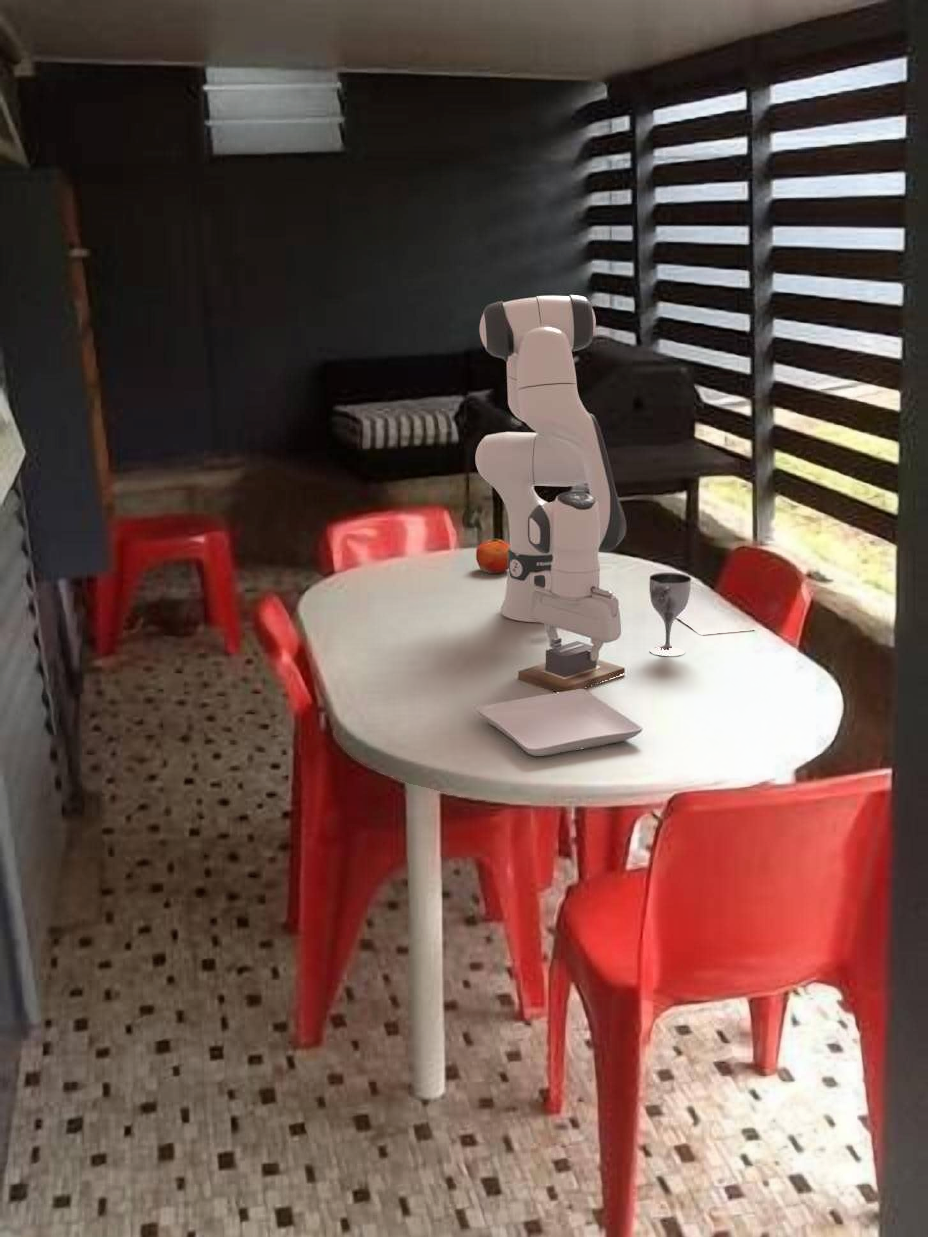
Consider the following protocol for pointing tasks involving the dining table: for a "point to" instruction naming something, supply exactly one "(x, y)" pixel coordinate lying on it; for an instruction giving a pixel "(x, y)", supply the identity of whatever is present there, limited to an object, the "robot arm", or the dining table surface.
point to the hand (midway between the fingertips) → (573, 653)
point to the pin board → (570, 677)
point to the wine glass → (669, 597)
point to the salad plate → (559, 722)
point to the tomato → (493, 556)
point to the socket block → (569, 659)
